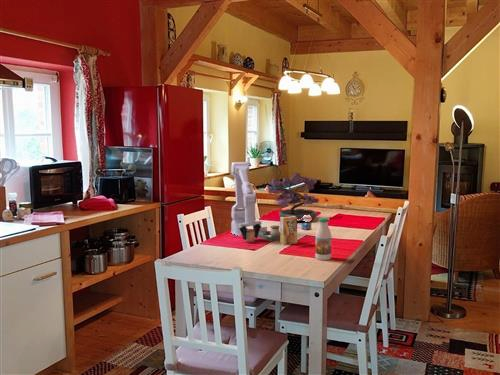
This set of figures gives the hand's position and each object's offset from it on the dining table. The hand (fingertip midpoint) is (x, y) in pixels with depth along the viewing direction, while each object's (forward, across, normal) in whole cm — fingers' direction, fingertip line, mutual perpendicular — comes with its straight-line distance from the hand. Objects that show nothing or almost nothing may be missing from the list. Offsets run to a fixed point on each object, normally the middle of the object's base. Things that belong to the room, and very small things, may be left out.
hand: (250, 238), depth 273 cm
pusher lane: (+2, +14, +2) cm, 14 cm away
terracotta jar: (+2, 0, 0) cm, 2 cm away
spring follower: (+1, +14, +8) cm, 16 cm away
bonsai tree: (+2, +62, +35) cm, 71 cm away
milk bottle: (+2, +8, -50) cm, 51 cm away
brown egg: (+1, +14, -5) cm, 15 cm away
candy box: (+2, +13, -18) cm, 22 cm away
